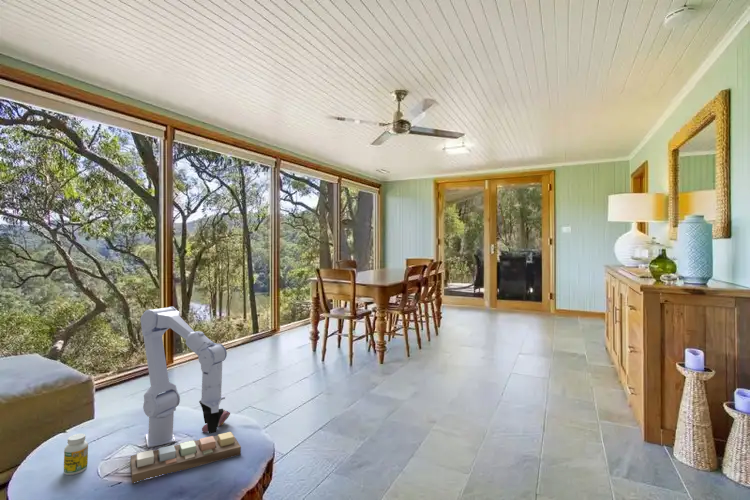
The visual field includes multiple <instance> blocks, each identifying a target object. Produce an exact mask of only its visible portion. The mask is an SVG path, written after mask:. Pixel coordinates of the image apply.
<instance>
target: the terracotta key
mask: <svg viewBox="0 0 750 500" xmlns="http://www.w3.org/2000/svg"><path fill="white" fill-rule="evenodd" d="M215 444H216V441H215V439H214V435H211V436H206V437H202V438H199V449H200V451H205V450H209V449H213V448H215Z"/></svg>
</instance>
